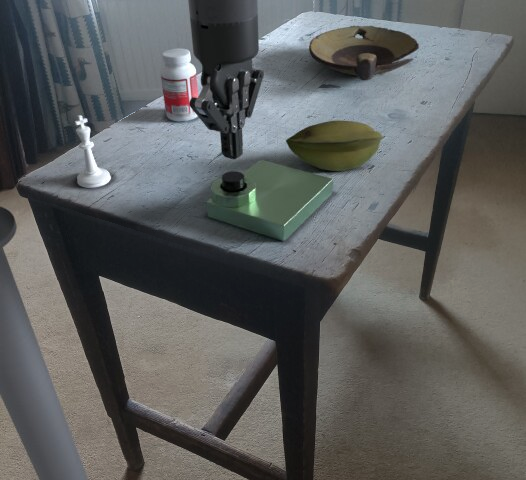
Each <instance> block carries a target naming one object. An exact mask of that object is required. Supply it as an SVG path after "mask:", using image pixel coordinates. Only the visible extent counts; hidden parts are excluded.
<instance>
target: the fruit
mask: <svg viewBox="0 0 526 480" xmlns="http://www.w3.org/2000/svg"><path fill="white" fill-rule="evenodd" d="M383 139H384V137H383V135H382V133H381V132H380V131H377V130H374V128H373V127H372V126H371V125H368V124H365V123H363V122H359V121H353V120H328V121H324V122H319V123H316V124H312V125H309V126H307V127H304V128H303V129H301V130H299V131H297V132H296V133H295V134H293V135H291V136H290V137H288V138H287V139H286V140H285V142H286V144H287V146H288V149H289V150H290V151H291V152H292V153H293V155H296V157H298V158H299V159H300V160H302V161H303V162H305V163H306V164H309V166H311V167H314V168H316V169H319V170H324V171H330V172H344V171H350V170H354V169H357V168H360V167H361V166H363V165H364V164H366V163H367V162H368V161H370V160H371V158H372V157H374V155H376V153H377V152H378V150H379V147H380V143H381V141H382V140H383Z"/></svg>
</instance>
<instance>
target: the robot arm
mask: <svg viewBox="0 0 526 480" xmlns="http://www.w3.org/2000/svg"><path fill="white" fill-rule="evenodd" d="M187 1H188V13H189V23H190V33H191V42H192V52H193V56H194V57H195V58H196V59H197V60H198V61H199V63H200V64H201V74H200V84H201V87H202V88H201V90H200V92H199V93H198V98H195V97H192V98H191V99H190V107H191V108H192V110H193V111H194V112H195V113H196V114H197V116H198V118H199V120H200V121H201V122H202V123H203V125H204V126H205V127H206V128H207V130H209V131H215V132H219V134H220V149H221V154H222V156H223V157H224V158H227V159H230V160H231V159H232V160H236V159H238V158H239V157H241V156H242V155H243V154H244V152H243V151H244V150H243V147H244V141H243V140H244V138H243V137H244V136H243V128H244V127H245V125H246V119H247V118H248V119H250V118H251V117H252V116H253V113H254V109H255V105H256V103H257V100H258V95H259V93H260V90H261V87H262V83H263V80H264V76H265V73H264V70H262V69H256V68H255V67H254V66H253V59H254V58H255V57H256V56H257V55H258V54H259V51H260V46H259V43H260V41H259V11H258V10H259V8H258V7H259V6H258V5H259V4H258V0H187Z"/></svg>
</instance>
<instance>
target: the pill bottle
mask: <svg viewBox="0 0 526 480" xmlns="http://www.w3.org/2000/svg"><path fill="white" fill-rule="evenodd" d="M191 57H192V56H191V52H190V50H189V49H186V48H181V47H179V48H178V47H177V48H170V49H167V50H165V51H162V61H163V64H164V65H162V67H161V69H160V81H161V87H162V88H161V89H162V94H163V96H162V97H163V103H164V109H165V110H164V111H165V115H166V117H167V119H168V120H171V121H174V122H187V121H191V120H195V119H196V118H197V117H198V116H197V114H196V113H195V112H194V111H193V110H192V108H191V107H190V99H191V98H192V97H195V98H198V96H199V87H198V77H197V70H196V69H197V68H196V67H195V65H194V64H192V63H191V61H192V60H191V59H192V58H191ZM198 118H199V117H198Z"/></svg>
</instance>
